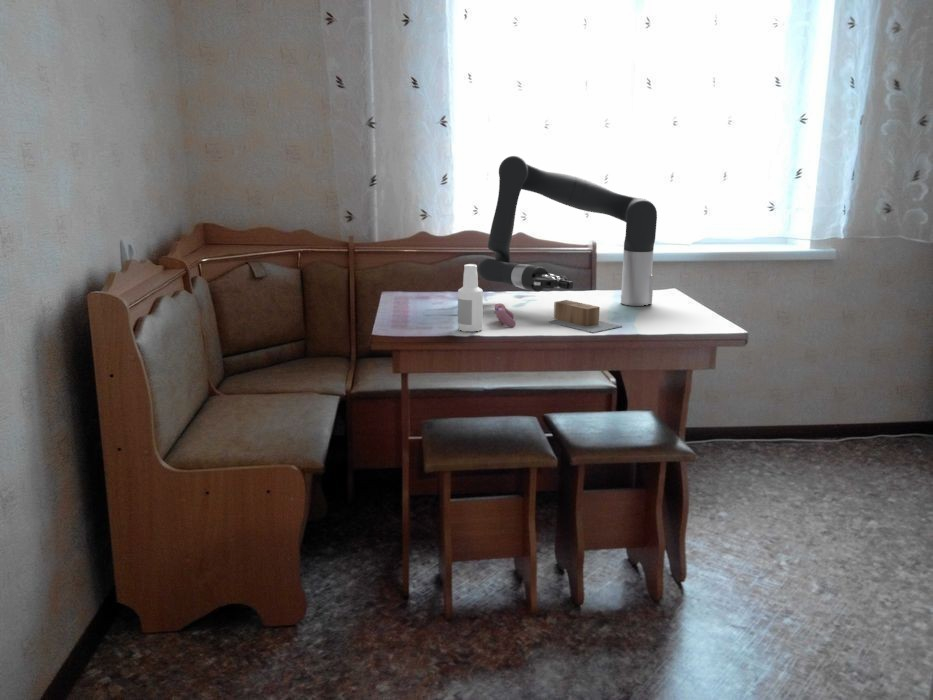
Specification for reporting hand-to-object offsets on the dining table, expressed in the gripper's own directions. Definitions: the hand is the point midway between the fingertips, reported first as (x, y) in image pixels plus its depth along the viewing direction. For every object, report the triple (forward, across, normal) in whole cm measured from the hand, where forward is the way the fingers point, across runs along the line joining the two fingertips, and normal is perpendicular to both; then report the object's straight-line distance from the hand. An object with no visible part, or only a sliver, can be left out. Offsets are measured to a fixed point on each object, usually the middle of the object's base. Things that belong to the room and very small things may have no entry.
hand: (571, 285), depth 228 cm
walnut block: (-4, 0, +8) cm, 9 cm away
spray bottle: (-9, -30, +11) cm, 33 cm away
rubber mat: (+6, 0, +10) cm, 12 cm away
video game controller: (-9, -17, +11) cm, 22 cm away
